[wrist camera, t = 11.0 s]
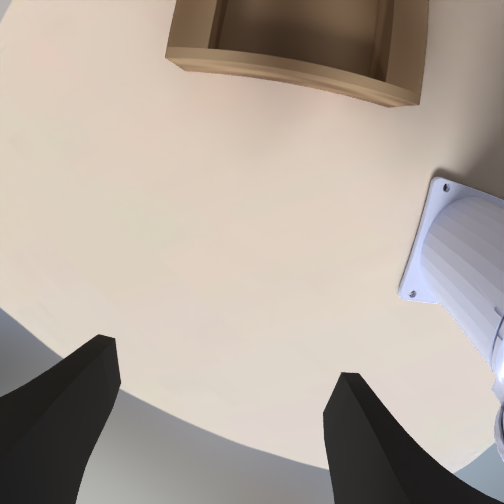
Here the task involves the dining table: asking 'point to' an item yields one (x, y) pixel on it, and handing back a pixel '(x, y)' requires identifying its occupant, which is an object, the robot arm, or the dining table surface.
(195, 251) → the dining table surface
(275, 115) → the dining table surface
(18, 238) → the dining table surface
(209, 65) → the keyhole board
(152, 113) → the dining table surface
